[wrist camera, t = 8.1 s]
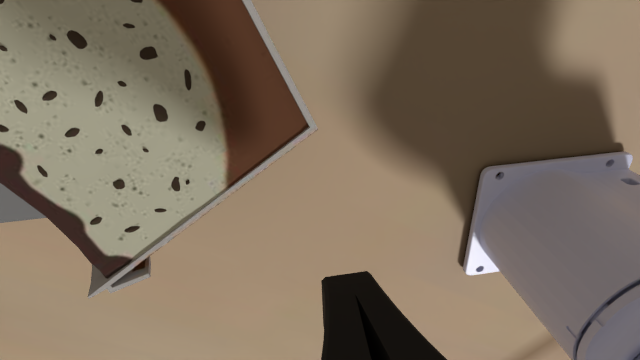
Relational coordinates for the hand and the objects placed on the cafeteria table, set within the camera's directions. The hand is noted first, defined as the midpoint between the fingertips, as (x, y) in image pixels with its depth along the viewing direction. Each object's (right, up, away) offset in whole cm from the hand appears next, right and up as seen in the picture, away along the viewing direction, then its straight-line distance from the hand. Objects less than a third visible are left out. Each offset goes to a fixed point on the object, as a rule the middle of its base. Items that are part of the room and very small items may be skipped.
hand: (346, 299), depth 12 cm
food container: (-4, +10, +4) cm, 11 cm away
